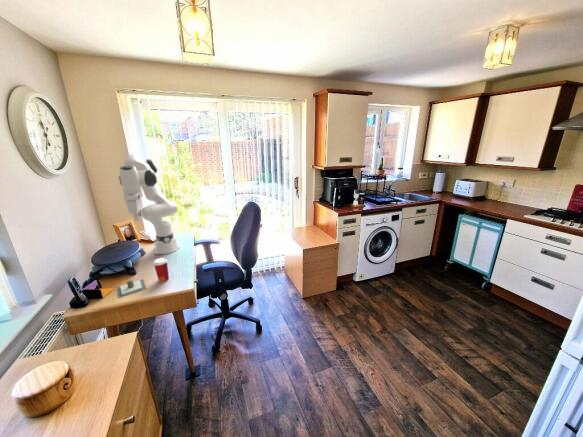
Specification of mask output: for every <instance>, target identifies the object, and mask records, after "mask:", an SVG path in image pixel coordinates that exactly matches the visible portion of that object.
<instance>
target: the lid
mask: <svg viewBox="0 0 583 437" xmlns="http://www.w3.org/2000/svg"><path fill="white" fill-rule="evenodd" d="M140 280H141V279H138V280H137V281H134V280H133V279H130V280H127V281H126V284H122V285H119V286H120V288H121V293H122V295H125V294H128V293H131V292H134V291H137V290H140V289H142V286H141V283H140Z"/></svg>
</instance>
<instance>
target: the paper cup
mask: <svg viewBox="0 0 583 437" xmlns="http://www.w3.org/2000/svg"><path fill="white" fill-rule="evenodd" d="M152 265H153V266H154V268H155V272H156V273H155V274H156V277H157V280H158V282H159V283H165V282H167V281H169V279H170V278H169V277H170V276H169V268H168V260H167V258H165V257H161V258H160V257H159V258H157V259H155V260H154V261H153V263H152Z"/></svg>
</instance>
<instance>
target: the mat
mask: <svg viewBox="0 0 583 437" xmlns="http://www.w3.org/2000/svg"><path fill="white" fill-rule="evenodd" d="M139 280H140V283H141V286H142V289H140V290H137V291H134V292H131V293H128V294H125V295H122V293H121V288H120V286H121V285H119V286H116V294H117V298H118V299H121V298H125V297H127V296H130V295H133V294H136V293H139V292H143V291H146V290H147V286H146V283H145V280H144V278H143V279H139Z"/></svg>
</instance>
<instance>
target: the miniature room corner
mask: <svg viewBox="0 0 583 437" xmlns="http://www.w3.org/2000/svg"><path fill="white" fill-rule="evenodd" d="M97 285H98V286H99V284H98V281H97V280H94V281H92V282H91V283H89V284H88V285H86V286H85V287H84V288H83V289H81V294H82V293H83V294H84V295H85V296H86V297H87V298H88V300H102V299H105V298H106V297H107V296H108V295H109V294H110V293H112V291H114V290H115V288H113V287H112V288H110V287H109V288H99V289H95V288H96V286H97ZM83 294H82V295H83Z"/></svg>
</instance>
